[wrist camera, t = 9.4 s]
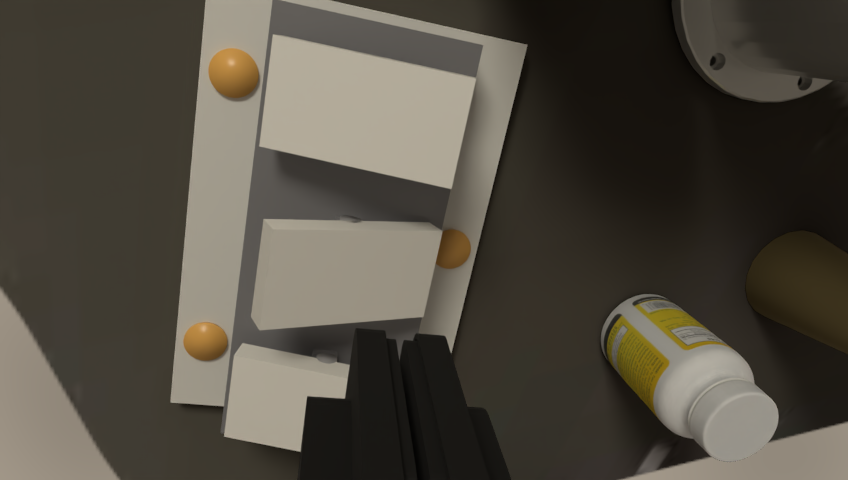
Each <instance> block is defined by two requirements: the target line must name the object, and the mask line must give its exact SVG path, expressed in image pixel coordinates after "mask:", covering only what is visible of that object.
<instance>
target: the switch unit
mask: <svg viewBox="0 0 848 480" xmlns="http://www.w3.org/2000/svg"><path fill="white" fill-rule="evenodd" d="M273 34H274V35H283V36H288V37H292V38H297V39H302V40H306V41H311V42H315V43H320V44H325V45H329V46H334V47H338V48H343V49H347V50H352V51H357V52H361V53H366V54H373V55H378V56H383V57H387V58H391V59H393V60H398V61H403V62H407V63H412V64H416V65H421V66H426V67H430V68H435V69H439V70H444V71H448V72H453V73H458V74H462V75H467V76H471V77H476V82H475V87H474V91H473V96H472V100H471V105H470V109H469V113H468V118H467V122H466V127H465V131H464V136H463V140H462V144H461V149H460V153H459V158H458V162H457V167H456V171H455V175H454V180H453V184H452V189H448V188H444V187H439V186H435V185H431V184H426V183H422V182H417V181H413V180H408V179H404V178H399V177H395V176H390V175H386V174H381V173H377V172H372V171H368V170H363V169H359V168H354V167H350V166H345V165H341V164H336V163H332V162H327V161H323V160H318V159H314V158H309V157H305V156H300V155H296V154H291V153H287V152H282V151H278V150H273V149H269V148H264V147H260V146H259V144H260V136H261V127H262V119H263V111H264V103H265V95H266V86H267V78H268V70H269V62H270V54H271V45H272V37H273ZM526 49H527V45H526V44H521V43H517V42H512V41H508V40H504V39H499V38H495V37H490V36H486V35H481V34H477V33H472V32H468V31H464V30H459V29H455V28H450V27H446V26H441V25H437V24H432V23H428V22H424V21H419V20H415V19H410V18H406V17H401V16H397V15H392V14H388V13H384V12H379V11H375V10H370V9H366V8H361V7H357V6H352V5H348V4H343V3H339V2H335V1H330V0H206V4H205V15H204V27H203V38H202V49H201V61H200V72H199V83H198V95H197V106H196V118H195V129H194V140H193V152H192V163H191V174H190V186H189V197H188V209H187V220H186V231H185V243H184V254H183V266H182V277H181V288H180V300H179V311H178V322H177V334H176V345H175V357H174V368H173V379H172V391H171V403H185V404H199V405H213V406H224V409H223V418H222V426H221V433H225V424H226V416H227V408H228V400H229V392H230V383H231V375H232V367H233V359H234V355H235V353H236V352H237V350H238V349H239V347H240V346H241V345H242V343H245V344H250V345H255V346H260V347H265V348H269V349H274V350H279V351H284V352H289V353H294V354H299V355H304V356H309V357H314V358H316V356H317V355H318V354H319V353H324V352H326V353H331V354H334V355H335V356H336V357H337V362H338V363H343V364H348V365H350V359H351V352H352V345H353V338H354V333H355V329H356V328H362V329H374V330H385V332H386V338H388V339H396V342H397V349H398V355H399V360H400V355H401V349H402V344H403V341H404V340H412V341H413V338H414V336H415V334H416V333H420V334H432V335H443V336H445V337H446V339H447V342H448V345H449V349H450V352H451V353H452V349H453V345H454V341H455V337H456V333H457V329H458V325H459V321H460V317H461V313H462V308H463V304H464V300H465V296H466V292H467V288H468V284H469V280H470V276H471V272H472V268H473V264H474V260H475V256H476V252H477V248H478V244H479V240H480V236H481V231H482V227H483V223H484V219H485V215H486V211H487V207H488V203H489V199H490V195H491V191H492V187H493V183H494V179H495V175H496V171H497V167H498V163H499V159H500V154H501V150H502V146H503V142H504V138H505V134H506V130H507V126H508V122H509V118H510V114H511V110H512V106H513V102H514V98H515V94H516V90H517V86H518V82H519V77H520V73H521V69H522V65H523V61H524V57H525V53H526ZM344 215H348V216H354V217H358V218H360V219H362V221H389V222H429V223H431V224H432V225H434V226H435V227H437V228H438V229H440V230H442V231H443V232H442V237H441V241H440V246H439V250H438V255H437V259H436V263H435V268H434V272H433V277H432V281H431V286H430V290H429V294H428V299H427V303H426V308H425V312H424V316H423V317H417V318H405V319H393V320H381V321H368V322H356V323H344V324H332V325H320V326H308V327H295V328H283V329H271V330H259V329H258V327H257V326H256V324H255V323H254V321H253V319H252V318H251V312H252V305H253V297H254V289H255V281H256V273H257V266H258V258H259V250H260V242H261V235H262V227H263V219H294V220H340V217H341V216H344Z"/></svg>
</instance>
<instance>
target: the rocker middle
mask: <svg viewBox="0 0 848 480" xmlns="http://www.w3.org/2000/svg"><path fill="white" fill-rule="evenodd" d="M442 232H443V231H442V230H440V229H438V228H437V227H435V226H434V225H432V224H431V223H429V222H389V221H362V219H360V218H358V217H354V216H348V215H344V216H341V217H340V220H294V219H263V227H262V235H261V242H260V250H259V258H258V266H257V273H256V281H255V289H254V297H253V305H252V312H251V318H252V319H253V321H254V323H255V324H256V326H257V327H258V329H259V330H271V329H283V328H295V327H308V326H320V325H332V324H344V323H356V322H368V321H381V320H393V319H405V318H417V317H423V316H424V312H425V308H426V303H427V299H428V294H429V290H430V286H431V281H432V277H433V272H434V268H435V263H436V259H437V255H438V250H439V246H440V241H441V237H442Z"/></svg>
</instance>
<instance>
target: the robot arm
mask: <svg viewBox="0 0 848 480" xmlns="http://www.w3.org/2000/svg"><path fill="white" fill-rule="evenodd" d="M672 12H673V18H674V25H675V30H676V33H677V36H678V39H679V42H680V45H681V48H682V50H683V52H684V54H685V55H686V57H687V59H688V60H689V62H690V64H691V65H692V67H693V69H694V70H695V71H696V72H697V73H698V74H699V75H700V76H701V77H702V78H703V79H704V80H705V81H706V82H707V83H708V84H710V85H711V86H713V87H714V88H716V89H718V90H719V91H721V92H722V93H724V94H727V95H730V96H733V97H736V98H739V99H743V100H749V101H755V102H760V103H761V102H784V101H788V100H793V99H797V98H801V97H803V96H806V95H808V94H810V93H813V92H815V91H817V90H820V89H821V88H823V87H824V86H826V85H828V84H829V83H831V82H832V81H843V82H848V0H672ZM710 59H711V62H710ZM298 480H511V478H510V475H509V472H508V469H507V466H506V463H505V461H504V458H503V455H502V452H501V449H500V446H499V444H498V441H497V438H496V435H495V432H494V429H493V426H492V424H491V421H490V418H489V415H488V413H487V411H486V410H485V409H484V408H477V407H467V404H466V401H465V398H464V394H463V391H462V388H461V385H460V381H459V378H458V375H457V371H456V368H455V365H454V362H453V358H452V355H451V352H450V349H449V345H448V342H447V339H446V337H445V336H443V335H432V334H420V333H416V334H415V336H414V338H413V341H412V340H404V341H403V344H402V349H401V355H400V360H399V355H398V349H397V342H396V339H388V338H386V332H385V330H374V329H362V328H356V329H355V333H354V338H353V345H352V352H351V359H350V366H349V373H348V380H347V387H346V394H345V399H342V398H327V397H312V396H307V401H306V409H305V418H304V426H303V435H302V443H301V452H300V461H299V471H298Z"/></svg>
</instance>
